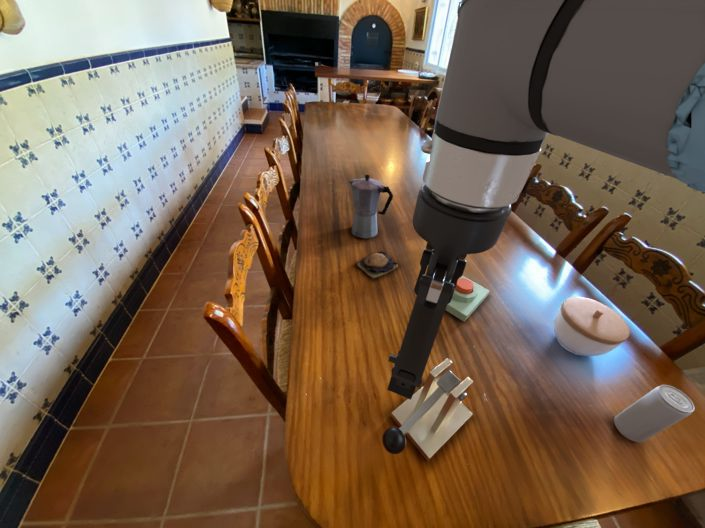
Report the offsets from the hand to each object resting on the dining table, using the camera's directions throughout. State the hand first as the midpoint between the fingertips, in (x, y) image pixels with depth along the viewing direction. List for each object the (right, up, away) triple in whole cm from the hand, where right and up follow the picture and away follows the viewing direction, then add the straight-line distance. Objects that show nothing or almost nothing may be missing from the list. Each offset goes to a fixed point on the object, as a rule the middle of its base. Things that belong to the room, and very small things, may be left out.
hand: (414, 345), depth 38 cm
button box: (+20, +1, +41) cm, 46 cm away
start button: (+21, +4, +39) cm, 44 cm away
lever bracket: (+7, -18, +16) cm, 25 cm away
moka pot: (-3, +21, +63) cm, 66 cm away
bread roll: (-1, +10, +49) cm, 50 cm away
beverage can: (+43, -20, +17) cm, 51 cm away
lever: (+3, -13, +9) cm, 17 cm away
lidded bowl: (+44, -8, +32) cm, 55 cm away
